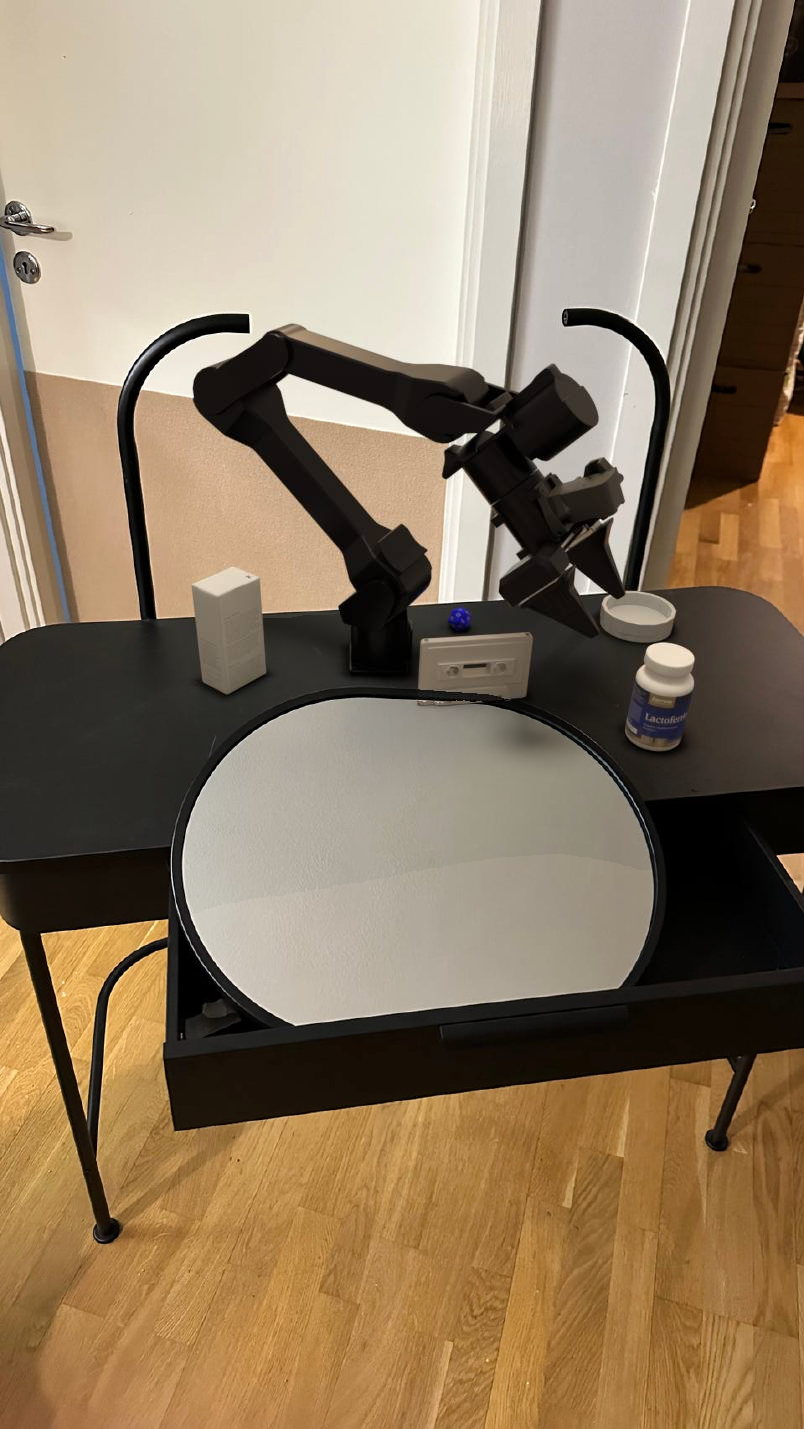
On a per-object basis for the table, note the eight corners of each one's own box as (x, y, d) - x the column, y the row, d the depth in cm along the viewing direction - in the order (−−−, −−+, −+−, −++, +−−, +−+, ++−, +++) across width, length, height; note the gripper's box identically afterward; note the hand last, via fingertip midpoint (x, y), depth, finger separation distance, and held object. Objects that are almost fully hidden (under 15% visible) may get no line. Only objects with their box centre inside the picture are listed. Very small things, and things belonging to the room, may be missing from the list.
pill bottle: (640, 756, 98) (657, 671, 93) (614, 725, 103) (630, 642, 97) (691, 749, 100) (711, 665, 94) (664, 718, 104) (681, 636, 99)
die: (466, 636, 118) (452, 619, 116) (453, 634, 120) (439, 617, 119) (479, 620, 119) (466, 602, 117) (466, 618, 121) (453, 601, 119)
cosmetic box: (240, 661, 111) (233, 564, 104) (267, 674, 109) (261, 576, 102) (199, 682, 107) (189, 583, 101) (226, 696, 105) (218, 596, 98)
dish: (607, 642, 117) (611, 624, 116) (593, 608, 125) (595, 590, 123) (680, 643, 118) (684, 624, 116) (661, 608, 125) (664, 591, 124)
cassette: (523, 690, 108) (530, 629, 104) (527, 700, 106) (535, 638, 102) (415, 698, 106) (418, 636, 102) (419, 708, 104) (422, 645, 100)
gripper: (545, 470, 82) (653, 617, 84) (607, 412, 96) (698, 539, 98) (453, 538, 89) (555, 672, 91) (523, 475, 103) (610, 593, 106)
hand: (609, 615), depth 96 cm, fingers open, 9 cm apart
